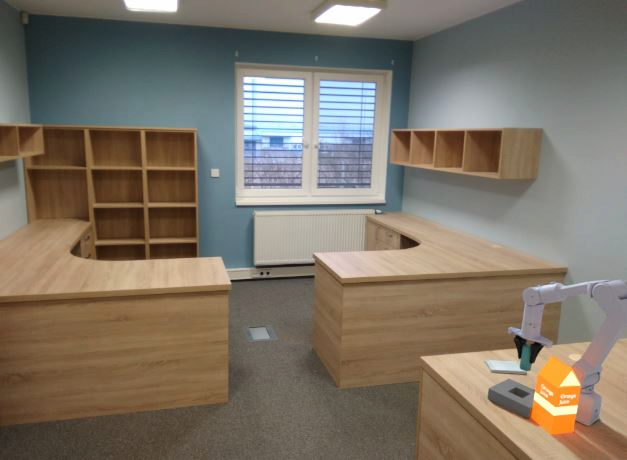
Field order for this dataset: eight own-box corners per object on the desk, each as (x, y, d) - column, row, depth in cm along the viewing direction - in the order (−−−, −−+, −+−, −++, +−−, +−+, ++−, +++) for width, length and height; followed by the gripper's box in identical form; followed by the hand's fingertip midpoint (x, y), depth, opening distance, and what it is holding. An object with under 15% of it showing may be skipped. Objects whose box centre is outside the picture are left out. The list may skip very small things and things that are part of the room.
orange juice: (550, 434, 144) (560, 369, 140) (530, 417, 153) (539, 355, 149) (573, 432, 146) (584, 368, 142) (552, 415, 155) (562, 354, 151)
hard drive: (518, 361, 189) (484, 358, 189) (526, 371, 181) (491, 369, 181) (517, 365, 189) (484, 363, 189) (525, 375, 181) (490, 373, 181)
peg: (532, 369, 171) (536, 347, 169) (527, 372, 168) (530, 349, 167) (523, 365, 173) (526, 343, 172) (517, 367, 171) (520, 345, 170)
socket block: (548, 406, 159) (550, 396, 159) (528, 418, 152) (530, 408, 151) (507, 388, 170) (508, 378, 169) (487, 398, 162) (488, 388, 162)
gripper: (559, 326, 165) (553, 365, 167) (517, 313, 176) (512, 349, 178) (548, 331, 160) (542, 371, 163) (506, 317, 171) (501, 354, 174)
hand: (526, 360), depth 170 cm, fingers closed on peg, 3 cm apart
